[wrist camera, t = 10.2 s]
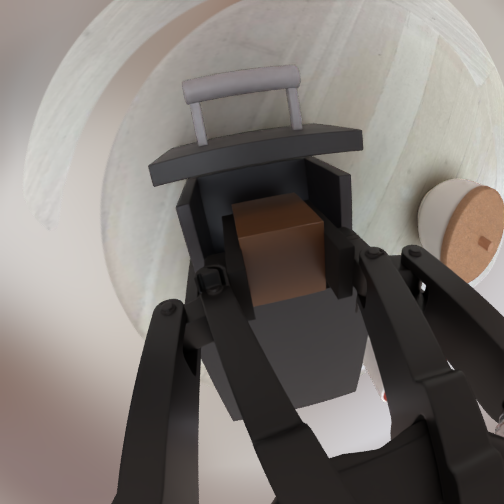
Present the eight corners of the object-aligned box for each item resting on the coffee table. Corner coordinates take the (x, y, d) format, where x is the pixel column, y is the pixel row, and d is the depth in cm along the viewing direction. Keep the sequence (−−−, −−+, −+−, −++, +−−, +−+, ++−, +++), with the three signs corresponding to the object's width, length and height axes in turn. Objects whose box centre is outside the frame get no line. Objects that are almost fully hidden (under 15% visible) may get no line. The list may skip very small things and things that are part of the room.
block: (231, 204, 17) (238, 238, 12) (294, 192, 17) (324, 221, 12) (242, 260, 18) (252, 307, 14) (300, 248, 19) (326, 290, 14)
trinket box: (424, 151, 23) (491, 175, 15) (471, 188, 26) (523, 216, 17) (387, 239, 27) (439, 286, 19) (438, 259, 30) (483, 299, 22)
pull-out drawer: (160, 96, 17) (130, 85, 11) (306, 72, 18) (352, 55, 11) (209, 290, 26) (210, 351, 19) (325, 265, 27) (358, 316, 20)
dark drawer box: (191, 247, 25) (182, 318, 16) (325, 219, 25) (377, 275, 17) (226, 352, 32) (233, 421, 23) (327, 329, 32) (356, 391, 24)
